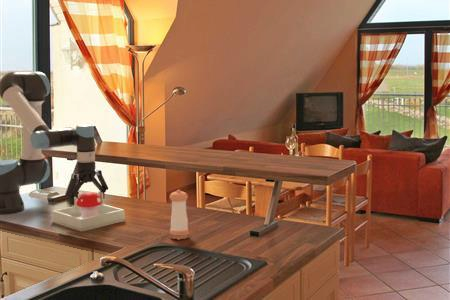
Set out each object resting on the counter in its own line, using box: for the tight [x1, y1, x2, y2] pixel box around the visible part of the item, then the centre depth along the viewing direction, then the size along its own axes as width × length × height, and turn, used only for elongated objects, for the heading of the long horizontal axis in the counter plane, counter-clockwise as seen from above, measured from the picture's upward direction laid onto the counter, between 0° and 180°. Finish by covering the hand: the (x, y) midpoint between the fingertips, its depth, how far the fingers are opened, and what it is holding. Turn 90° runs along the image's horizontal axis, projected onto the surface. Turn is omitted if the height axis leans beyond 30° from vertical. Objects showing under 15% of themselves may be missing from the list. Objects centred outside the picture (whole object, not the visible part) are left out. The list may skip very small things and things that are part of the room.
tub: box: [51, 203, 126, 232], centre depth 252 cm, size 22×22×5 cm
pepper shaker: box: [169, 189, 190, 235], centre depth 226 cm, size 7×7×19 cm
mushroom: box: [76, 191, 102, 219], centre depth 252 cm, size 11×11×12 cm
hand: (88, 209), depth 252 cm, fingers open, 13 cm apart
